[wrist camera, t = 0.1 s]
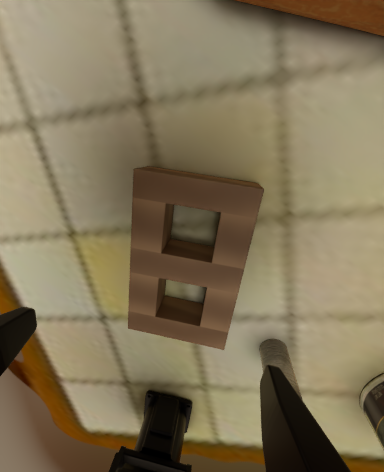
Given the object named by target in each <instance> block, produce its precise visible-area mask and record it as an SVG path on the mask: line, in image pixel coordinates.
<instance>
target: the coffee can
mask: <svg viewBox="0 0 384 472" xmlns="http://www.w3.org/2000/svg"><path fill="white" fill-rule="evenodd" d="M360 406H361V409H362V411H363V413H364V414H365V415H366V417H367V419H368V421H369V423H370V425H371V427H372V429H373V431H374V433H375V435H376V437H377V438H378V440H379V442H380V444H381V446H382V448H383V450H384V374H382V375H380V376H378V377H376V378H375V379H373V380H372V381H371V382H369V383H368V384H367V386H366V387H365V388H364V389H363V391H362V393H361V396H360Z"/></svg>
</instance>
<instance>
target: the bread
mask: <svg viewBox="0 0 384 472" xmlns="http://www.w3.org/2000/svg"><path fill="white" fill-rule="evenodd" d="M236 1H240V2H245V3H249V4H253V5H257V6H262V7H266V8H270V9H274V10H279V11H283V12H287V13H291V14H296V15H300V16H304V17H308V18H312V19H317V20H321V21H325V22H329V23H333V24H337V25H342V26H346V27H350V28H354V29H358V30H362V31H365V32H369V33H373V34H377V35H381V36H384V0H236Z"/></svg>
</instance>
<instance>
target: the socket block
mask: <svg viewBox="0 0 384 472" xmlns="http://www.w3.org/2000/svg"><path fill="white" fill-rule="evenodd" d="M263 192H264V189H263V188H262V187H261V186H260V185H259V184H258V183H254V182H247V181H241V180H234V179H228V178H221V177H215V176H208V175H202V174H195V173H189V172H183V171H176V170H170V169H163V168H157V167H150V166H147V167H142V168H136V169H134V175H133V203H132V230H131V257H130V284H129V311H128V328H129V329H133V330H138V331H142V332H146V333H151V334H155V335H160V336H164V337H169V338H173V339H178V340H182V341H187V342H191V343H196V344H200V345H204V346H209V347H213V348H218V349H222V350H224V347H225V343H226V339H227V335H228V331H229V328H230V324H231V320H232V316H233V312H234V308H235V304H236V300H237V296H238V292H239V288H240V284H241V280H242V276H243V272H244V268H245V264H246V260H247V256H248V252H249V248H250V244H251V240H252V236H253V232H254V228H255V224H256V220H257V216H258V212H259V208H260V204H261V200H262V196H263ZM174 205H180V206H186V207H192V208H198V209H204V210H210V211H216V212H221V213H220V219H219V224H218V229H217V235H216V240H215V245H214V247H212V246H206V245H201V244H195V243H190V242H184V241H179V240H173V239H171V229H172V220H173V210H174ZM166 279H167V280H172V281H177V282H182V283H187V284H192V285H197V286H202V287H207V288H206V294H205V299H204V304H202V303H197V302H192V301H188V300H183V299H178V298H173V297H168V296H164V295H165V285H166Z"/></svg>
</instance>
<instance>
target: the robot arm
mask: <svg viewBox="0 0 384 472" xmlns="http://www.w3.org/2000/svg"><path fill="white" fill-rule="evenodd" d="M36 327H37V321H36V314H35V310H34V309H32V308H28V307H21V308H18V309H15V310H12V311H10V312H7V313H4V314H2V315H0V376H1V375H2V373H3V372H4V371H5V370H6V369H7V368H8V366H9V365H10V364H11V362H12V361H13V360H14V358H15V357H16V356H17V354H18V353H19V352H20V350H21V349H22V348H23V346H24V345H25V344H26V342H27V341H28V340H29V338H30V337H31V336H32V334H33V333H34V332H35V330H36ZM260 399H261V428H262V442H263V451H264V459H265V466H266V472H351V471H350V470H349V468H348V467H347V465H346V464H345V462H344V461H343V459H342V458H341V456H340V455H339V453H338V452H337V451H336V449H335V448H334V446H333V445H332V443H331V442H330V440H329V439H328V437H327V436H326V435H325V433H324V432H323V430H322V429H321V427H320V426H319V424H318V423H317V421H316V420H315V418H314V417H313V416H312V414H311V413H310V411H309V410H308V408H307V407H306V405H305V404H304V402H303V401H302V399H301V398H300V397H299V395H298V394H297V392H296V391H295V389H294V388H293V386H292V385H291V383H290V382H289V381H288V379H287V378H286V376H285V375H284V373H283V372H282V370H281V369H280V368H279V367H277V366H274V365H269V364H268V365H267V366H266V367H265V370H264V373H263V375H262V378H261V382H260ZM191 409H192V402H191V401H189V400H184V399H180V398H176V397H172V396H168V395H164V394H160V393H156V392H152V391H147V393H146V398H145V410H144V421H143V424H142V427H141V430H140V433H139V437H138V440H137V443H136V446H135V449H134V450H131V449H128V448H126V447H124V446H121V448H120V450H119V452H118V453H116V454H115V457H114V459H113V462H112V465H111V467H110V470H109V472H191V465H189V464H187V465H186V464H182V463H180V458H181V452H182V445H183V439H184V433H186V432H187V429H188V424H189V419H190V414H191Z"/></svg>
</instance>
